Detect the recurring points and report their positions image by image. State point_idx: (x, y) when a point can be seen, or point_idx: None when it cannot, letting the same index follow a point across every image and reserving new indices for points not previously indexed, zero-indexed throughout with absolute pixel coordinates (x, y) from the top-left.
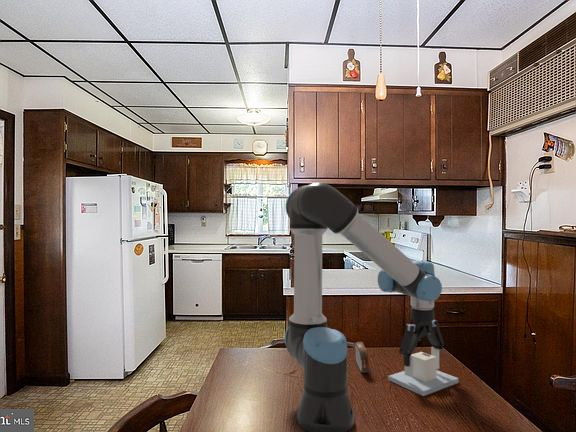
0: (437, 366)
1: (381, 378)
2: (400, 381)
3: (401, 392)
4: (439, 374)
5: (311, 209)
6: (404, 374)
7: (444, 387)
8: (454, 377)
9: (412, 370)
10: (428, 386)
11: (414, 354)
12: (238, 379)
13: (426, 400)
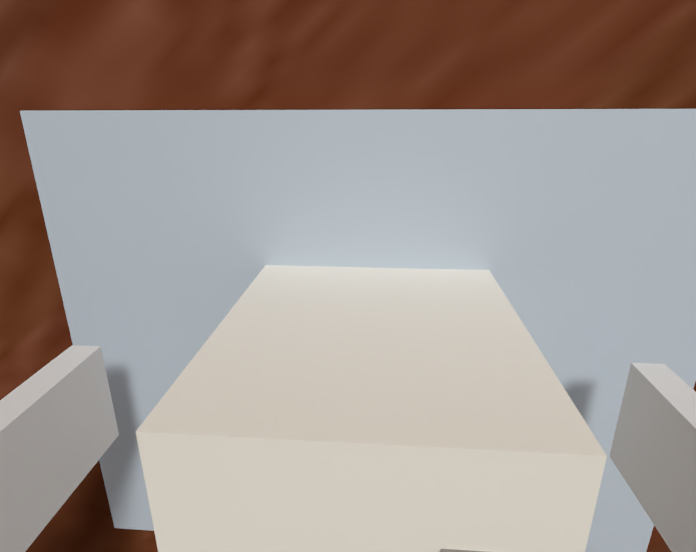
0: (624, 474)
1: (12, 16)
2: (63, 298)
3: (17, 368)
4: (590, 423)
5: None
6: (237, 198)
7: None
8: (633, 537)
9: (62, 494)
10: None
11: (263, 470)
12: None
13: (112, 535)
